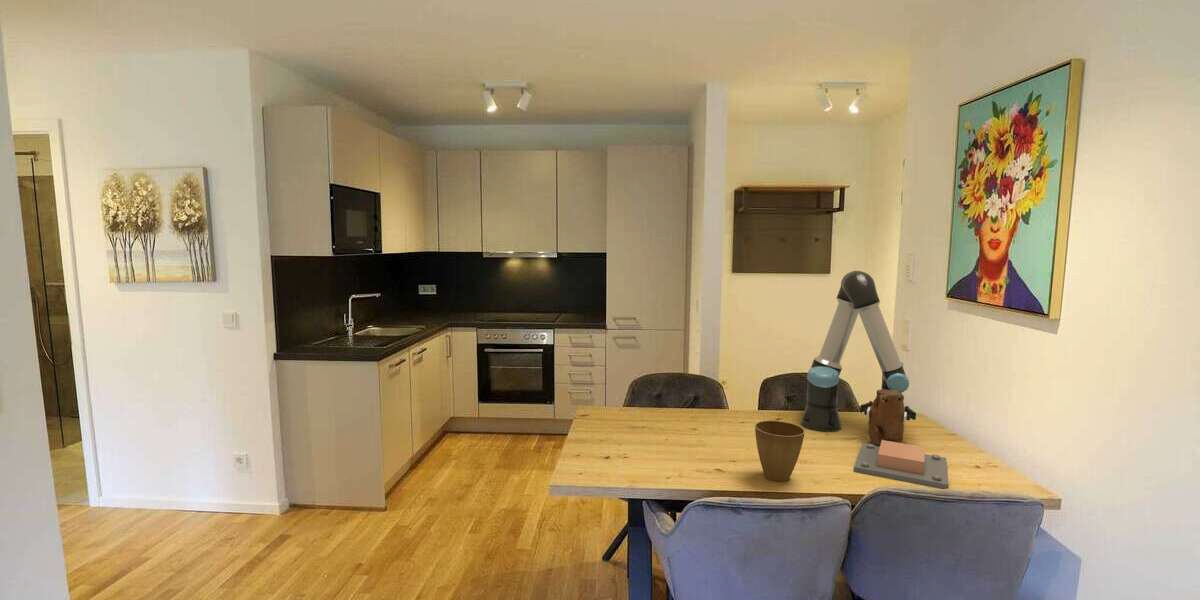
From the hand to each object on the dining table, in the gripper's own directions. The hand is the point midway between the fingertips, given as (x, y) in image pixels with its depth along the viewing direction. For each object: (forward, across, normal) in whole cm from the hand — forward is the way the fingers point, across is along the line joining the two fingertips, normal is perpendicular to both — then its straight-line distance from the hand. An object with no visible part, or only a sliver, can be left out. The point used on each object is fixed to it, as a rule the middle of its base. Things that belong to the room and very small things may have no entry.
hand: (886, 417), depth 202 cm
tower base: (+18, -6, -11) cm, 22 cm away
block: (-4, 0, -11) cm, 12 cm away
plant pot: (+49, +27, -11) cm, 57 cm away
